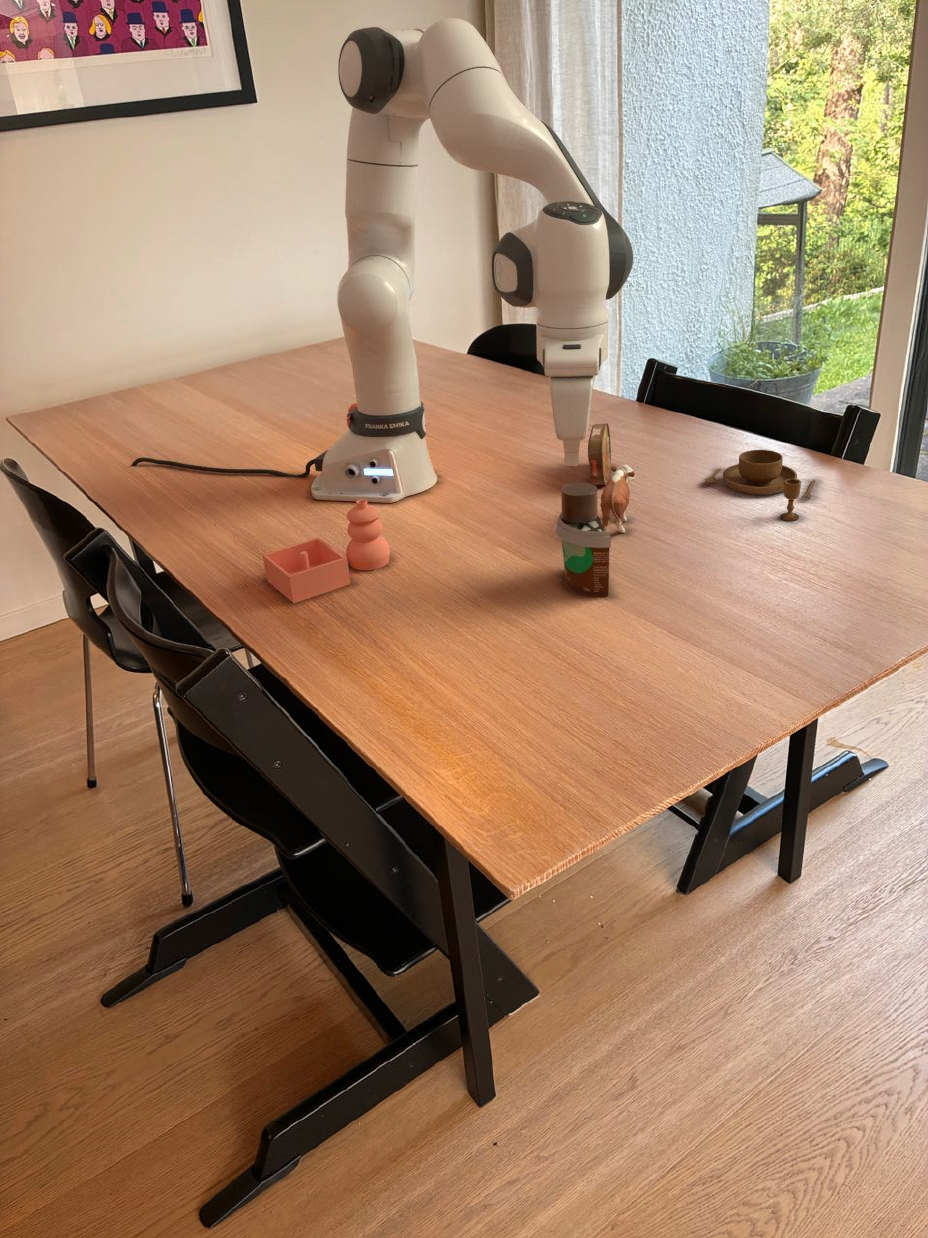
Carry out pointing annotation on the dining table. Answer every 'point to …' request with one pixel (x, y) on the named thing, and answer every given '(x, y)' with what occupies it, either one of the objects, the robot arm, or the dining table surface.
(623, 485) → the bull figurine
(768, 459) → the place setting
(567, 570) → the food container
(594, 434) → the tin
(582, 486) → the brown cylinder
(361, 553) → the pottery
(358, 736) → the dining table surface
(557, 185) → the robot arm
